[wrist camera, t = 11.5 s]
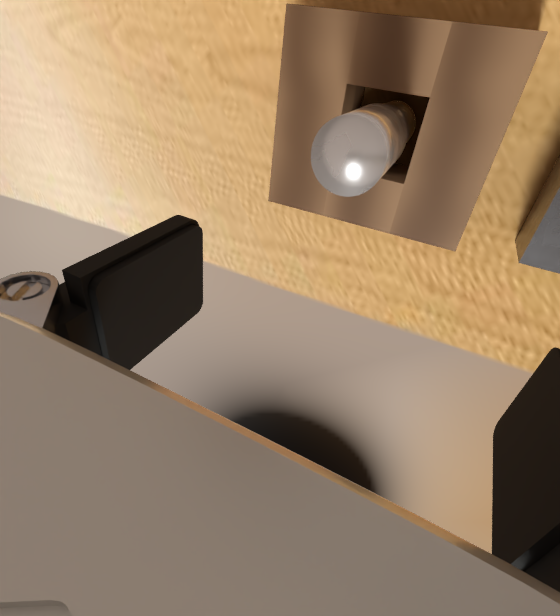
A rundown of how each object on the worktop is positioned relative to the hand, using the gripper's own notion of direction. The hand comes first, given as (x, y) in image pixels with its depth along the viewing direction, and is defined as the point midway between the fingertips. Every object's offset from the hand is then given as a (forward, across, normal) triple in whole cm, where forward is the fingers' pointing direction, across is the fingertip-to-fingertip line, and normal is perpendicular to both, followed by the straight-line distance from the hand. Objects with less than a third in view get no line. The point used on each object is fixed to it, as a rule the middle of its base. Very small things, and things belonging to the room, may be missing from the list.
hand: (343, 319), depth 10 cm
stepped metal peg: (+23, +4, -1) cm, 23 cm away
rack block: (+23, +4, -1) cm, 23 cm away
